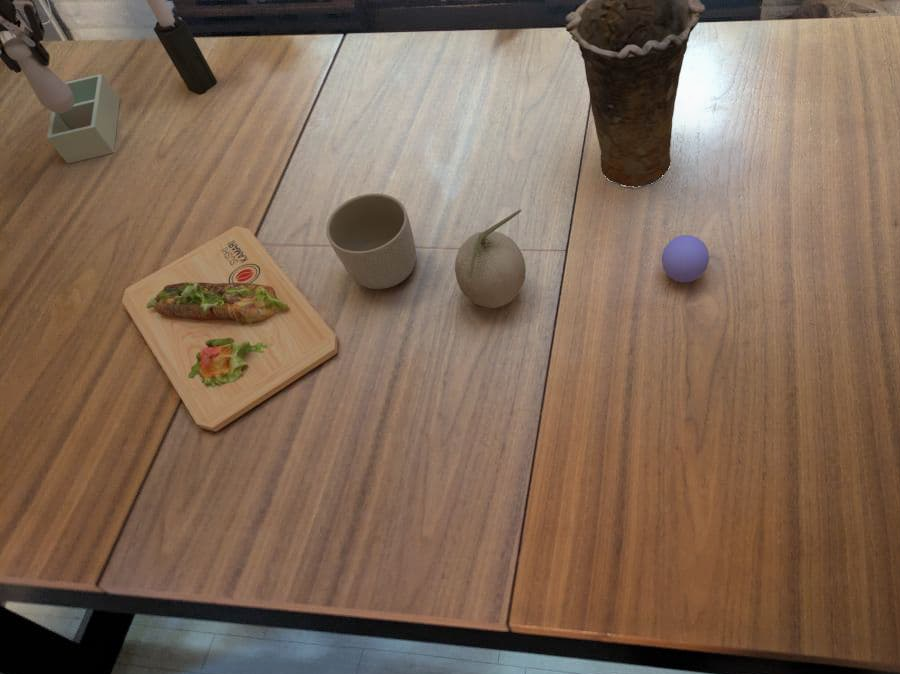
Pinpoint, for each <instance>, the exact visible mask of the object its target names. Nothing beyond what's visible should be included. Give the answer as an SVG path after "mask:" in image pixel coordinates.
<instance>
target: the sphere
mask: <svg viewBox="0 0 900 674" xmlns="http://www.w3.org/2000/svg"><path fill="white" fill-rule="evenodd" d="M709 261H710V253H709V249H708V247H707V246H706V244H705V243H704V242H703V240H701V239H700V238H699V237H697V236H694V235H690V234H683V235H678V236H676V237H674V238H673V239H671V240H670V241H669V242H668V243H667V244H666V246H664V248H663V251H662V255H661V265H662V268H663V270H664V272H665V274H666V275H667V276H668V277H669V278H671V279H672V280H673V281H675V282H678V283H691V282H693V281H696V280H697V279H699V278H700V277H702V276H703V275H704V273H705V272H706V270H707V268H708V266H709Z"/></svg>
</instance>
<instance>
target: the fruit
mask: <svg viewBox="0 0 900 674" xmlns="http://www.w3.org/2000/svg"><path fill="white" fill-rule="evenodd" d="M521 212H522V209H520V208H519V209H518V210H517V211H514V213H512V214H510V215H509V216H507V217H505V218H504V219H502V220H500V221H499V222H497V223H496V224H494V225H492V226H491V227H489V228H488V229H486V230H484V231H479V232H476V233H473V234H472V235H470V236H469V237H468V238H467V239H466V240H465V241H464V242H463V244H462V245H461V246H460V247H459V249H458V252H457V254H456V257H455V260H454V273H455V278H456V282H457V285H458V286H459V289H460V291H461V292H462V294H463V295H464V296H465V297H466V298H467V299H468V300H469V301H471V303H473V304H475V305H477V306H481V307H484V308H490V309H495V308H500V307H504V306H506V305H507V304H509V303H510V302H513V300H514V299H515V298H516V297H517V296H518V294H519V293H520V291H521V290H522V288H523V285H524V283H525V280H526V273H527V272H526V271H527V269H526V262H525V258H524V255H523V253H522V251H521V249H520V247H519V245H518V244H517V243H516V242H515V241H514V240H513V239H512V238H511V237H510V236H508V235H506V234H504V233H503V232H499V231H496V230H497V229H499V228H500V227H502V226H503V225H505V224H506V223H508V222H509V221H510V220H512V219H513V218H515V217H516V216H517V215H519V214H520V213H521Z"/></svg>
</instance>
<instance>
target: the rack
mask: <svg viewBox="0 0 900 674" xmlns="http://www.w3.org/2000/svg"><path fill="white" fill-rule="evenodd" d="M63 82H64V81H63ZM64 83H66V84H67V85H68V86H69V87H70V89H71V91H72V94H73V98H74V102H75V104H74V106H73V107H72V109H71V110H69V111H66V112H64V113H62V114H60V113H55V112H52V111H51V114H50V119H49V123H48V130H47V135H46V140H47V141H48V142H49V143H50V144H51V145H52V147H54V149H55V150H56V151H57V153H58V154H59V155H60V156H61V157H62V159H63V160H64V161H65V162H66V164H68V165H69V164H73V163H77V162H81V161H86V160H90V159H94V158H98V157H102V156H106V155H111V154H114V153H115V148H116V147H115V145H116V136H117V129H118V120H119V113H120V112H119V111H120V104H121V103H120V102H121V99H120V97H119V96H118V94H117V93H116V92H115V91H114V89H113V87H112V85H110V83H109V81H108V80H107V79H106V77H105V76H104V74H103V73H98V74H95V75H90V76H85V77H81V78H78V79H77V78H76V79H73V80H67V81H65V82H64Z"/></svg>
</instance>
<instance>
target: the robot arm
mask: <svg viewBox="0 0 900 674" xmlns="http://www.w3.org/2000/svg"><path fill="white" fill-rule="evenodd" d="M36 6H37V5H36V4H35V1H34V0H25V1H24V0H0V33H1V32H10V33H11V34H12V35H14V37H20V38H21V39H22V40H23V41H24V42H25V43H27V44H28V45H29V46H30V49H31V50H32V52H33V53H34V54H35V56H36V57H37V58H38V60H39V61H40V62H41V64H42V65H43V66H48V67H49V66H50V60H51V55H50V54H49V52H48V50H47V49H46V48H45V47H44V45H43V44H42V42H43V40H44V38H45V33H46V30H45V27H44V25H43V23H42V20H41V17H40V14H39V12H38V9H37V7H36ZM17 11H19V12H20V13H21V14H22V16H23V17H25V18H26V19H27V21H28V24H29V26H30V28H29V26H27V24H26V23H25V21H24V20H22V19H21V18H20V17H19V16H18V15H17ZM4 45H5V43H4V42H3V39H2V38H1V36H0V59H1V61H2V62H3V63H4V65H5V66H6V67H7V69H9V70H11V71H14V73H16V74H19V73H22V69H21V68H20V66H19V64H18V62H17V60H14V59H11V58H10V57H9V56H8V55H7V53H6V51H5V49H4Z"/></svg>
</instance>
